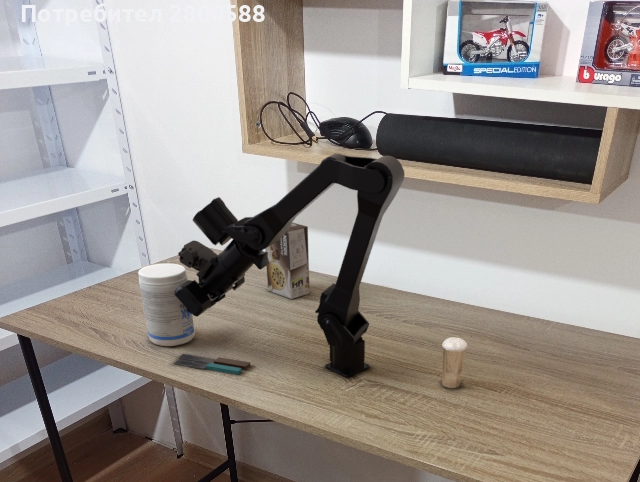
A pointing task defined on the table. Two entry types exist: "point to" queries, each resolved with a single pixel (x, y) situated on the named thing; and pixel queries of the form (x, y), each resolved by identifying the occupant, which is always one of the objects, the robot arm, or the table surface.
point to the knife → (218, 361)
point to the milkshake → (453, 361)
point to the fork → (209, 366)
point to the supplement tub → (165, 304)
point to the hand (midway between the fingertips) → (188, 310)
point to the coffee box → (289, 263)
